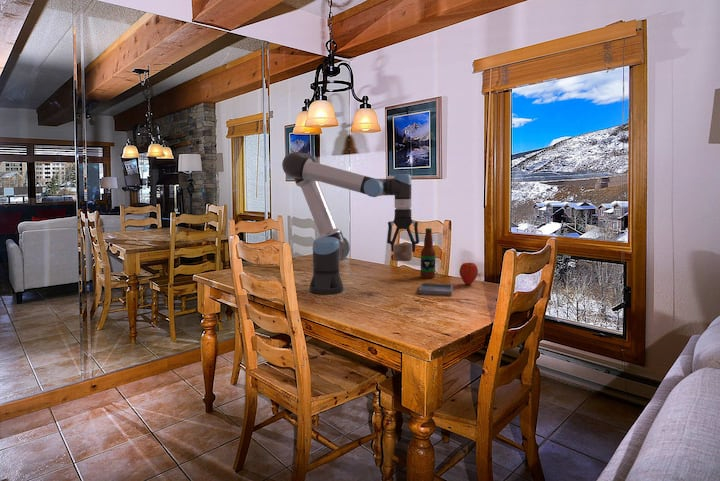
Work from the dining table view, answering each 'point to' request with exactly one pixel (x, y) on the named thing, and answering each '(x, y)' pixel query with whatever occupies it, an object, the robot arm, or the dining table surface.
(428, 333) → the dining table surface
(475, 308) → the dining table surface
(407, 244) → the walnut cube
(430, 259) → the bottle
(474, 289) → the dining table surface
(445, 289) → the slate tray
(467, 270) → the apple
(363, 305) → the dining table surface
